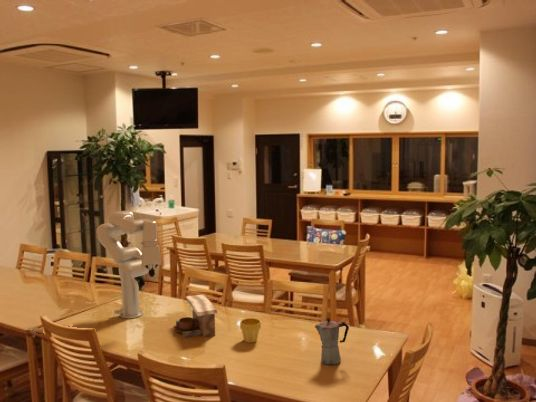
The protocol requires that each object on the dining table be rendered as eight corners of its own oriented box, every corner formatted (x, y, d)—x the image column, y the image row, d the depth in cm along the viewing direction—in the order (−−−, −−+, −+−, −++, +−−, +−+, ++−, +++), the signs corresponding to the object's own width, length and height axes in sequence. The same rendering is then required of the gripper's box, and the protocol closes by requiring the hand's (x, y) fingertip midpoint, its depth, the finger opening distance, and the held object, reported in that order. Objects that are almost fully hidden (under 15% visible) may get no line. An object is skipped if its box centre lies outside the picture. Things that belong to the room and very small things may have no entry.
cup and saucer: (188, 325, 276) (188, 314, 275) (202, 330, 268) (202, 319, 267) (170, 331, 267) (170, 320, 267) (184, 337, 259) (184, 325, 259)
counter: (184, 340, 254) (183, 314, 252) (174, 322, 280) (173, 298, 278) (217, 335, 260) (216, 309, 258) (204, 318, 286) (203, 294, 284)
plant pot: (263, 337, 257) (263, 319, 256) (256, 345, 247) (256, 326, 246) (245, 335, 260) (244, 316, 259) (237, 342, 250) (236, 323, 249)
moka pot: (312, 357, 233) (312, 315, 230) (345, 355, 234) (345, 314, 232) (316, 366, 223) (316, 323, 221) (350, 364, 224) (351, 321, 222)
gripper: (137, 245, 266) (138, 279, 268) (165, 243, 271) (166, 276, 274) (135, 243, 273) (137, 276, 275) (163, 241, 278) (164, 273, 281)
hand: (151, 276), depth 274 cm, fingers closed
